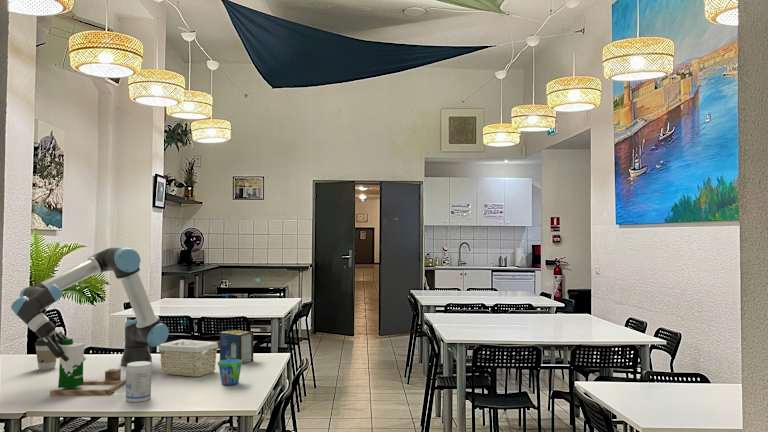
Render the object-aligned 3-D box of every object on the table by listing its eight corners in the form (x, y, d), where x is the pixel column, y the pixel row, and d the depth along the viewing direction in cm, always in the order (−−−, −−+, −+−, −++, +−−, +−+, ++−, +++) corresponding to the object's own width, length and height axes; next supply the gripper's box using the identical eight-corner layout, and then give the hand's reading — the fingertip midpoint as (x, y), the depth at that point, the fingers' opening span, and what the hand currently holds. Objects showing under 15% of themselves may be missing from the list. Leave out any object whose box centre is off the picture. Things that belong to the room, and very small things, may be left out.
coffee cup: (28, 370, 305) (29, 339, 305) (48, 365, 315) (49, 336, 316) (44, 372, 300) (45, 341, 301) (64, 367, 311) (65, 337, 311)
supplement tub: (121, 400, 248) (121, 363, 248) (143, 395, 255) (143, 360, 256) (133, 404, 242) (133, 366, 242) (155, 399, 249) (156, 363, 249)
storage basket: (157, 374, 295) (157, 343, 296) (180, 367, 310) (181, 338, 311) (196, 378, 286) (197, 347, 286) (219, 371, 301) (219, 341, 301)
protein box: (234, 358, 336) (234, 329, 336) (253, 361, 327) (253, 332, 327) (219, 361, 327) (219, 331, 328) (238, 364, 318) (238, 334, 319)
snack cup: (214, 381, 280) (214, 359, 281) (237, 379, 285) (237, 357, 285) (221, 388, 266) (221, 365, 267) (245, 386, 271) (245, 363, 271)
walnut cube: (120, 379, 280) (120, 368, 280) (116, 382, 275) (116, 371, 275) (109, 380, 280) (109, 369, 280) (104, 382, 275) (105, 371, 275)
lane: (125, 385, 273) (125, 380, 273) (110, 394, 256) (110, 390, 256) (68, 385, 272) (68, 381, 272) (49, 395, 255) (49, 390, 255)
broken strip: (124, 381, 280) (125, 379, 280) (120, 384, 275) (120, 382, 275) (78, 382, 279) (78, 380, 279) (73, 384, 274) (73, 382, 274)
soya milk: (69, 383, 269) (69, 337, 270) (87, 384, 267) (88, 338, 268) (54, 388, 260) (55, 340, 261) (73, 389, 258) (74, 341, 259)
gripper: (48, 329, 275) (83, 364, 275) (22, 336, 253) (60, 375, 253) (60, 317, 275) (96, 352, 275) (35, 323, 253) (73, 362, 253)
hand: (79, 363), depth 264 cm, fingers closed on soya milk, 9 cm apart
